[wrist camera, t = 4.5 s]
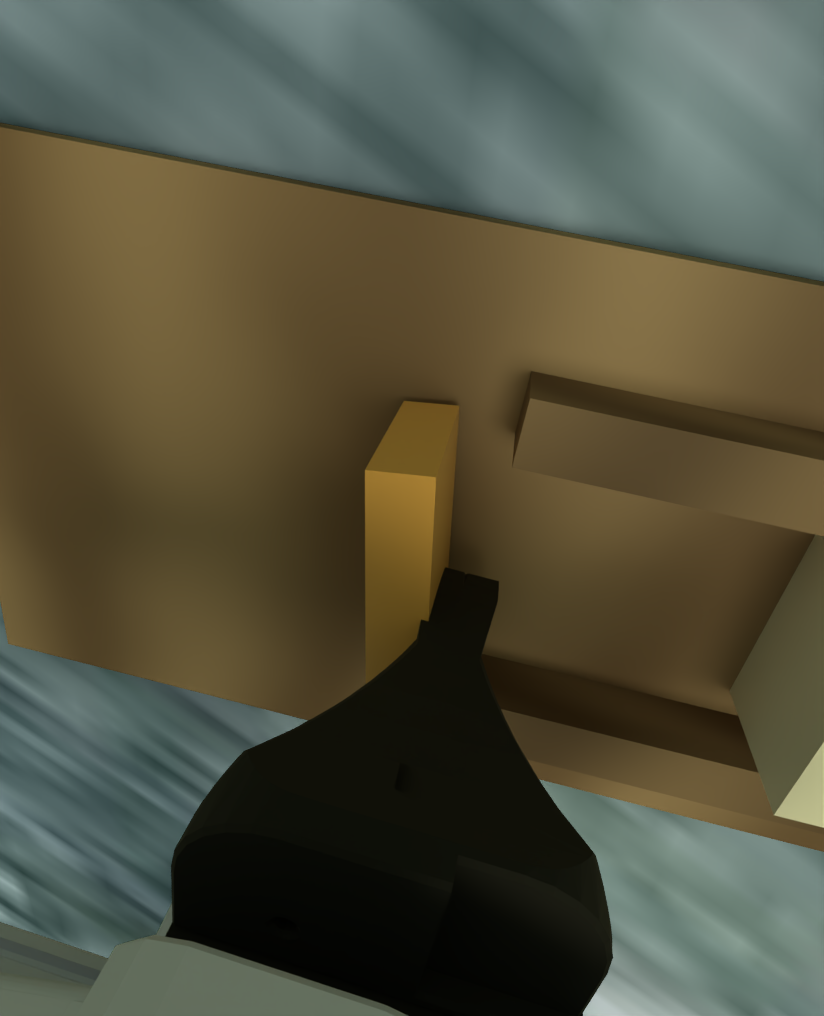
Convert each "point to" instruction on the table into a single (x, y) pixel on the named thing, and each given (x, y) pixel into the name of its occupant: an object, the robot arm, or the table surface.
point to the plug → (789, 696)
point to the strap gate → (407, 526)
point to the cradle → (361, 427)
